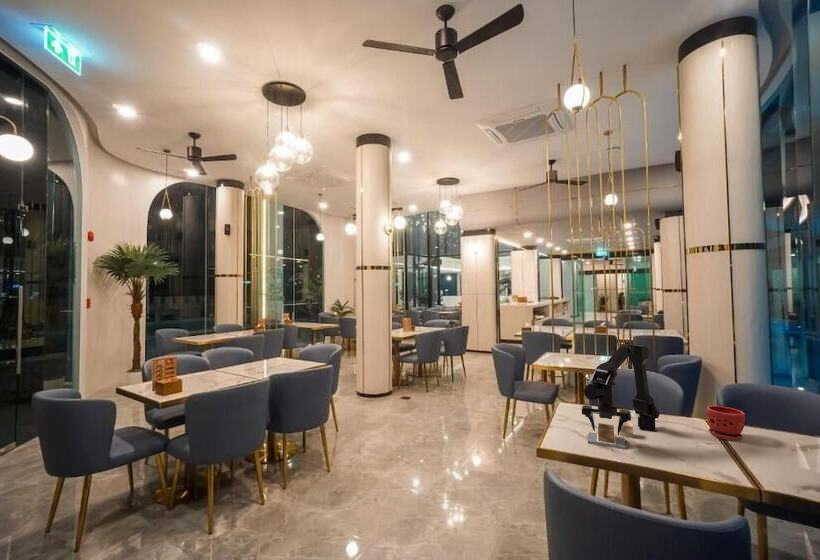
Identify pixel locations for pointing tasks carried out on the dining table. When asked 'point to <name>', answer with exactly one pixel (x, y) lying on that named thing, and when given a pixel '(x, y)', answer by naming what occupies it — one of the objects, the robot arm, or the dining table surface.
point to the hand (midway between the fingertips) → (606, 432)
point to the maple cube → (627, 430)
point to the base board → (618, 442)
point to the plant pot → (725, 422)
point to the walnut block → (606, 433)
